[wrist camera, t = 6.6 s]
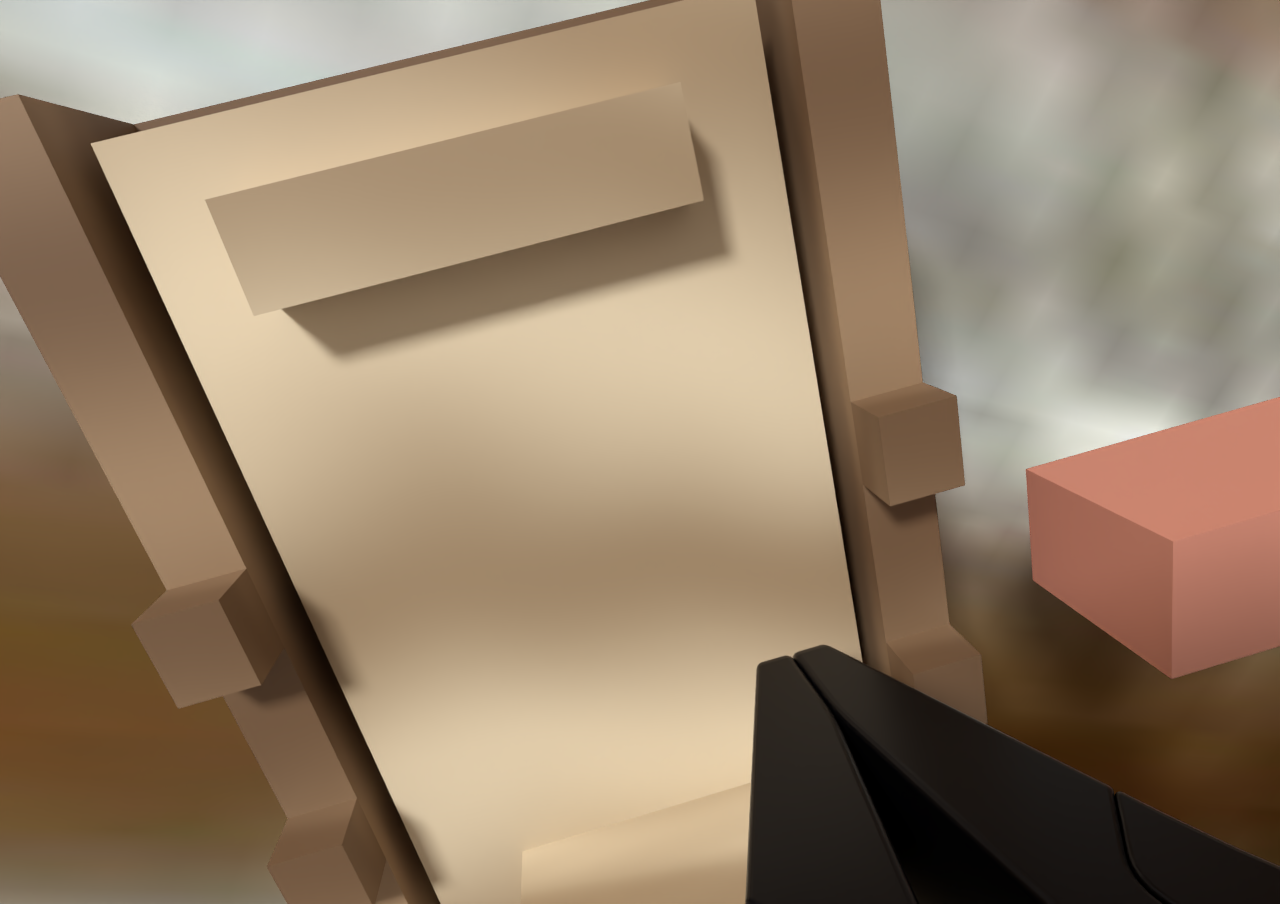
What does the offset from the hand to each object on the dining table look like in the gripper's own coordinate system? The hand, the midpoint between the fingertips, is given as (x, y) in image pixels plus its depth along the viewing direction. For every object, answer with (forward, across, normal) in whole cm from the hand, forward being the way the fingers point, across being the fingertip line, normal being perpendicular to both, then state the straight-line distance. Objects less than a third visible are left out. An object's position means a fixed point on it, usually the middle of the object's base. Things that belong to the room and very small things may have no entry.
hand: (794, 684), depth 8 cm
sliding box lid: (+3, +2, 0) cm, 4 cm away
